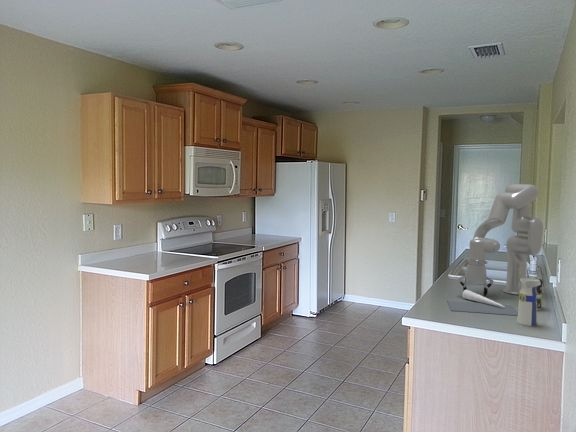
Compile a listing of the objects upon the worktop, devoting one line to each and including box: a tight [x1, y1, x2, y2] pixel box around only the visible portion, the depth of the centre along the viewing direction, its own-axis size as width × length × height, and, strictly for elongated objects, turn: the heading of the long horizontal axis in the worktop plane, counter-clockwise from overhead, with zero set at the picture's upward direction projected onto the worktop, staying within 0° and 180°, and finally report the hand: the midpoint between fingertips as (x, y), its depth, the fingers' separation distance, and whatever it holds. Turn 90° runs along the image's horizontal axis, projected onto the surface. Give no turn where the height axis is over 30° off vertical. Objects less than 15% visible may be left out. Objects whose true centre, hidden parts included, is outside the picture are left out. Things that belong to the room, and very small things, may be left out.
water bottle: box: [516, 266, 541, 327], centre depth 198 cm, size 8×9×25 cm
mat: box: [447, 300, 518, 317], centre depth 222 cm, size 30×18×1 cm, turn 77°
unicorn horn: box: [462, 289, 505, 307], centre depth 230 cm, size 5×24×5 cm, turn 25°
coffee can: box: [517, 276, 544, 311], centre depth 224 cm, size 10×10×14 cm
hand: (475, 295), depth 242 cm, fingers open, 9 cm apart
